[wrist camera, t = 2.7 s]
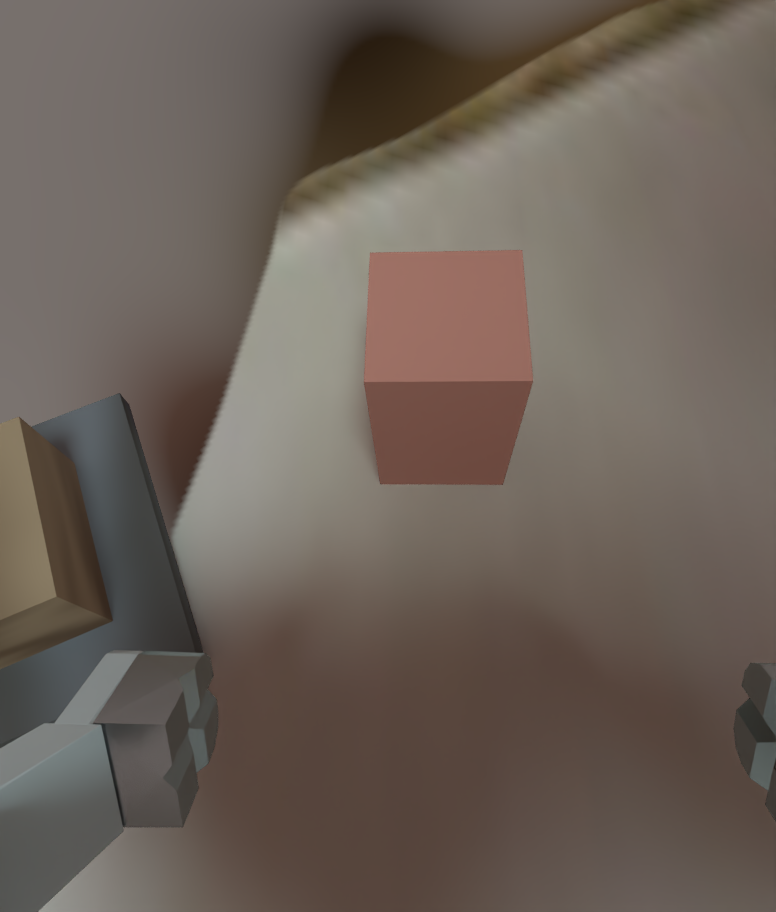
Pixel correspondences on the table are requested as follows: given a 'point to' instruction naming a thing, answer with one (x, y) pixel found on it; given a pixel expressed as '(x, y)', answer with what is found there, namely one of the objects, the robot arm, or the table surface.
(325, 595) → the table surface
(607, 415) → the table surface
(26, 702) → the tower base
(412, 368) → the red block
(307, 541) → the table surface
